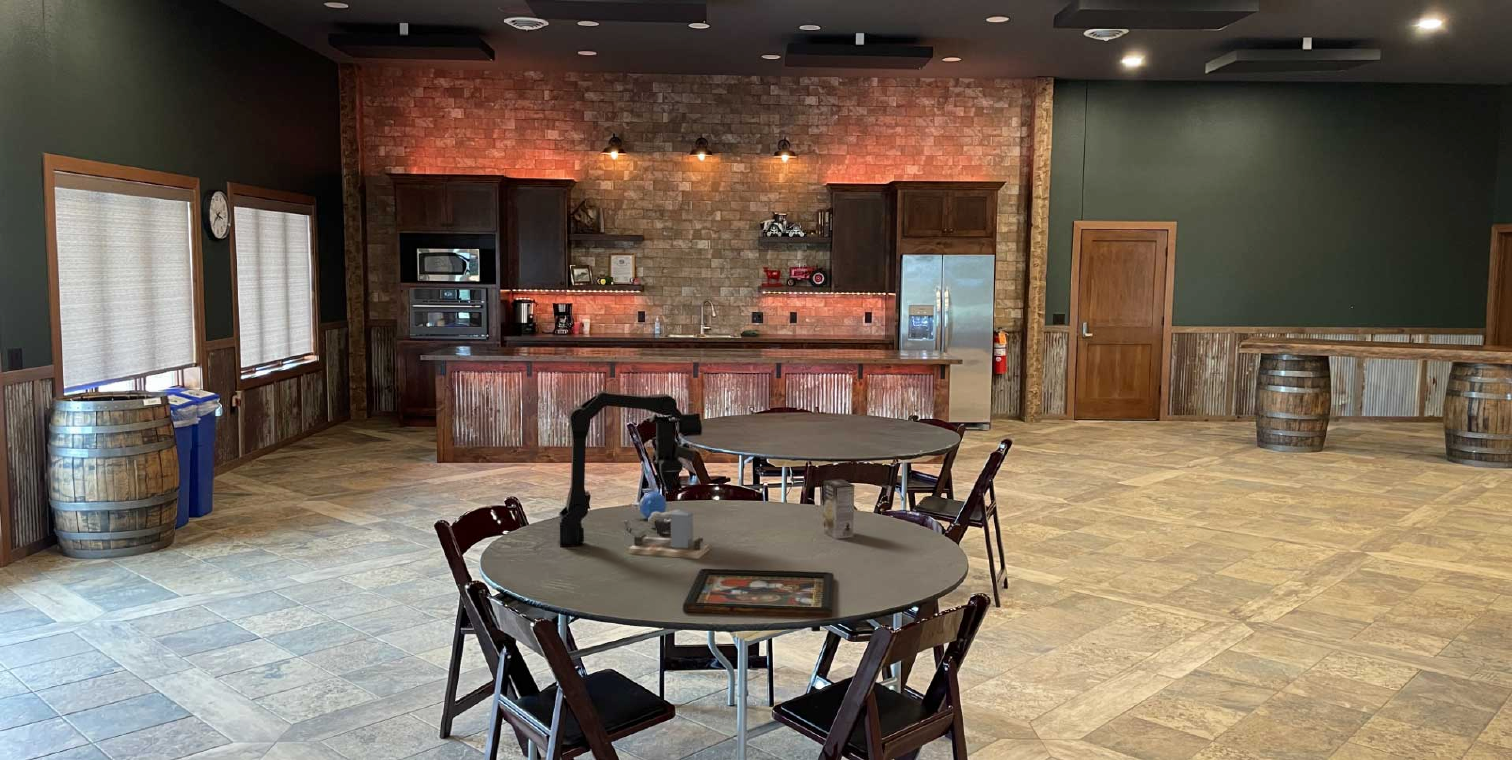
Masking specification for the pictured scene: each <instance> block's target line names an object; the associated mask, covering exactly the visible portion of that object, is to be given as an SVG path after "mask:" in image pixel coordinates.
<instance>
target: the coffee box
mask: <svg viewBox="0 0 1512 760" xmlns="http://www.w3.org/2000/svg"><path fill="white" fill-rule="evenodd" d="M854 508H855V484H852V483H851V482H849V481H846V480H845V479H843V478H840V479H829V480H823V508H822V509H823V513H822V515H823V517H822V519H823V521H822V522H823V523H822V524H823V527H822V528H823V529H822V532H823V533H825V534H826V535H828V536H830V537H831V538H833V539H835V540H839V539H848V538H854V521H855V520H854V517H855V514H854V513H855V509H854Z"/></svg>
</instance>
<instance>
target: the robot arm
mask: <svg viewBox="0 0 1512 760" xmlns="http://www.w3.org/2000/svg"><path fill="white" fill-rule="evenodd" d="M605 407H613V408H614V407H616V408H628V409H634V410H635V409H638V410H645V411H649V412H651V413H655V414H653V416H652V417H651V418H650V419H648V420H649V422H650V423H651V424H655V425H656V428H655V430H656V431H655V432H656V433H655V435H656V437H655V440H654V441H655V442H654V443H655V445H656V450H654V451H652V453H651V454H650V461H651V464H652V466H653V468H654V470H655V472H656V475H657V478H658V480H659V482H660V484H661V487H663V488H664V487H665V490H666V492H667V493H668V494H671V493H672V492H673V487H674V483H675V480H676V476H678V474H680V473H681V472H682V471H683V463H682V462H681V461H680V460H679V459H684V460H686V461H688V462H693V461H694V458H695V455H696V453H697V451H696V450H695V449H693V448H690V445H689V444H688V443H686V442H682V443H681V444H679V442H678V441H677V434H680V436H681V437H701V436H702V434H703V433H702V431H703V425H702V421H701V415H700V412H695V413H694V412H693V413H682V411H680V409H678V403H677V401H676V399H675V398H674V397H672V396H671V395H669V394H667V393H660V394H659V393H658V394H649V395H637V394H629V393H628V394H626V393H615V392H607V391H604V390H601V391H597V393H596V394H595V395H594V396H593V397H591V398H590V399H588V400H587V401H585V402H584V403H582V404H581V405H578V406H574V407H573V408H571V410H569V412H568V423H569V427H570V428H569V429H570V434H571V469H570V471H571V474H570V487H569V490H568V494H567V499H566V503H565V507H564V508H562V510H561V511H560V512H559V513H558V515H559V518H560V519H559V520H560V521H559V522H558V545H559V547H561V548H563V547H566V548H567V547H580V546H583V545H584V541H585V538H584V537H585V533H584V532H585V531H584V526H583V525H582V520H583V519H584V518H586V516H587V515H588V512H589V510H591V507H590V501H591V494H590V492H589V490H587V491H586V488H585V482H586V481H585V480H586V478H585V477H586V475H585V473H586V445H587V444H586V443H587V442H586V441H587V437H588V433H589V431H590V426H591V421H592V419H593V418H594V417H597V415H598V414H599V413H600V412H601V411H602V410H603V409H604V408H605ZM657 414H658V415H662V416H658V415H657ZM668 416H671V417H673V418H671V419H670V418H669V417H668Z"/></svg>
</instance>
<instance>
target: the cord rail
mask: <svg viewBox="0 0 1512 760" xmlns="http://www.w3.org/2000/svg"><path fill="white" fill-rule="evenodd" d="M633 538H634V539H633V541H634V542H633V543H634V544H633V545H631V546H629V548H628V554H632V555H645V556H646V555H648V556H657V557H668V558H669V557H671V558H684V559H698V560H699V559H701V557H703V555H705V554H707V552H708V551H709V550H710V544H708V543H707V544H706V543H704V537H698V538H697V539H696V540H694V539H693V540H689V548H678V547H671V537H670V538H667V537H656V536H655V537H654V536H647V534H646V533H638V534H637V535H635V536H634V537H633Z"/></svg>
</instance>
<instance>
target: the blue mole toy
mask: <svg viewBox="0 0 1512 760" xmlns="http://www.w3.org/2000/svg"><path fill="white" fill-rule="evenodd" d="M628 506H629V507H632V508H634V509H635V510H637V511H638V513H640V514H642V515H643V516H644V517H645V518H649V517H650V516H651V513H653V512H656V511H657V512H660V513H664V512H666V510H667V501H666V498H665V496H664V495H663V494H661V493H660V492H656V491H651V492H647V493H645V494H644V495H642V497H641V499H640V501H638V502H634V503H629V504H628Z"/></svg>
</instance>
